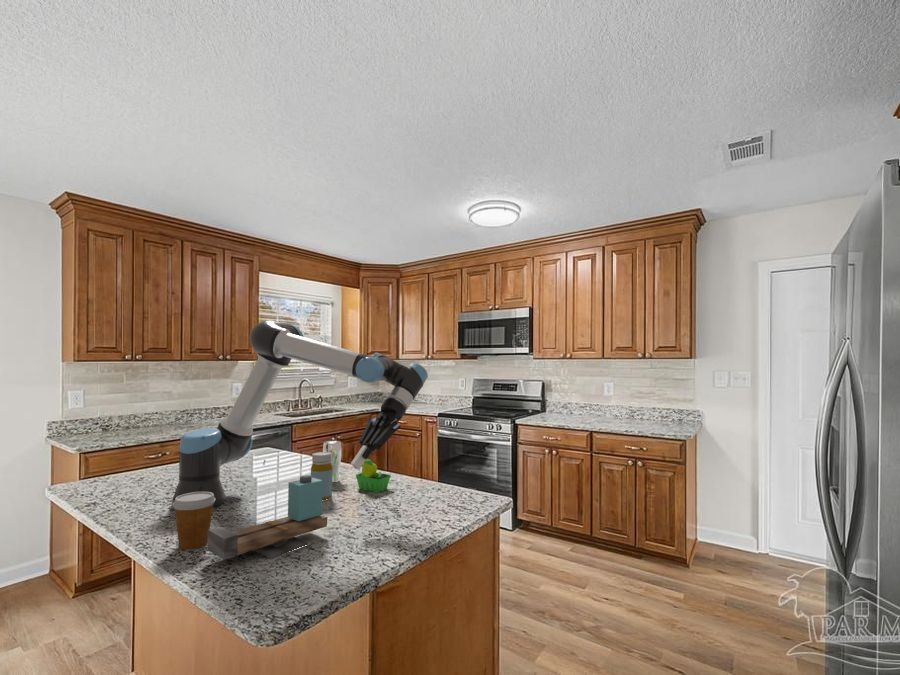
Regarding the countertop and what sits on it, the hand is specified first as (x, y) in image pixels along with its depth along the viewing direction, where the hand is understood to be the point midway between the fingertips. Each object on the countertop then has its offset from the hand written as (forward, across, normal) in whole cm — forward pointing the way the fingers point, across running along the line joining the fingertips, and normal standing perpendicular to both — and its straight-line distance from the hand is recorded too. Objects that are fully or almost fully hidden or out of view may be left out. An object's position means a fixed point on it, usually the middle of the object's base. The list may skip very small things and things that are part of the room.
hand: (354, 466), depth 135 cm
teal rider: (+20, +1, +2) cm, 20 cm away
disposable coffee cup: (+37, +18, +15) cm, 44 cm away
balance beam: (+29, +1, +7) cm, 30 cm away
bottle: (+6, +27, -17) cm, 32 cm away
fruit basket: (-7, +22, -30) cm, 38 cm away
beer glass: (-6, +43, -28) cm, 52 cm away
